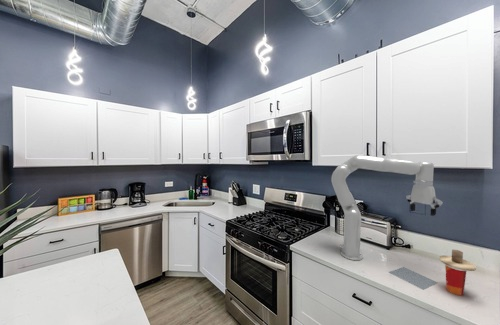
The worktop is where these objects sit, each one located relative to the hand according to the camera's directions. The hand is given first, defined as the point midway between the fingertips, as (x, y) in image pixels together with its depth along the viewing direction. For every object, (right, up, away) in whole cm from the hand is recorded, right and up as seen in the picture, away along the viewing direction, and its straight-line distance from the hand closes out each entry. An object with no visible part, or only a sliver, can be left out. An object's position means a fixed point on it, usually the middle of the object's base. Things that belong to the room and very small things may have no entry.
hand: (422, 213), depth 115 cm
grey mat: (-13, -33, -8) cm, 36 cm away
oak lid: (-1, -19, -20) cm, 28 cm away
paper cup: (-2, -33, -19) cm, 39 cm away
